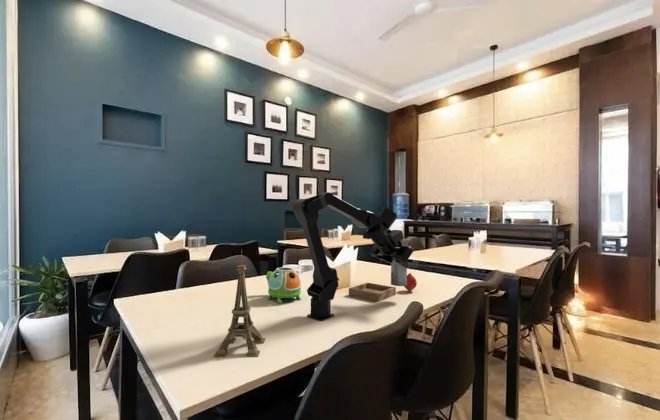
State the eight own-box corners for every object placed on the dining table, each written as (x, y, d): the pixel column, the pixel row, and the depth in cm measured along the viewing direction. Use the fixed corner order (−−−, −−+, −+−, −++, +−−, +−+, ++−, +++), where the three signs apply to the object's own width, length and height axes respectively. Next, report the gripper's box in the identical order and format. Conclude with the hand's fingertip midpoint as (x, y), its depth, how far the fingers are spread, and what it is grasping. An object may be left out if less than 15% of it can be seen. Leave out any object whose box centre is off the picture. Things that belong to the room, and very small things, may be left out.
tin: (402, 286, 121) (403, 248, 121) (388, 284, 125) (388, 247, 125) (409, 284, 126) (409, 247, 126) (394, 282, 129) (395, 246, 130)
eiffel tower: (265, 339, 88) (266, 247, 88) (257, 357, 77) (258, 252, 77) (226, 339, 87) (226, 246, 87) (213, 357, 77) (213, 252, 77)
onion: (401, 291, 139) (401, 273, 139) (404, 289, 144) (404, 271, 144) (414, 293, 136) (415, 274, 136) (417, 290, 141) (418, 272, 141)
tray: (378, 301, 124) (378, 294, 124) (348, 295, 132) (348, 288, 132) (395, 294, 134) (395, 287, 134) (367, 289, 143) (367, 282, 143)
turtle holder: (280, 290, 140) (280, 263, 140) (307, 299, 127) (307, 269, 127) (255, 296, 131) (255, 266, 131) (281, 305, 118) (281, 273, 118)
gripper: (410, 223, 115) (430, 253, 121) (375, 222, 131) (395, 247, 137) (393, 247, 111) (415, 276, 117) (359, 242, 127) (381, 268, 133)
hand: (401, 265), depth 126 cm, fingers closed on tin, 6 cm apart
